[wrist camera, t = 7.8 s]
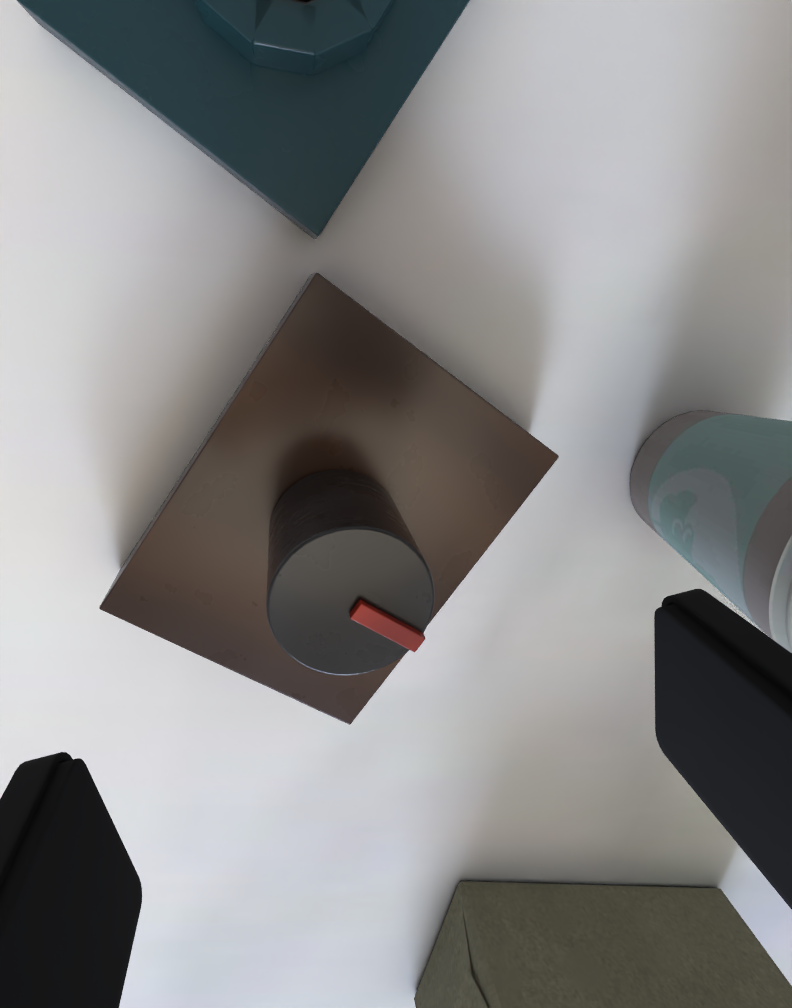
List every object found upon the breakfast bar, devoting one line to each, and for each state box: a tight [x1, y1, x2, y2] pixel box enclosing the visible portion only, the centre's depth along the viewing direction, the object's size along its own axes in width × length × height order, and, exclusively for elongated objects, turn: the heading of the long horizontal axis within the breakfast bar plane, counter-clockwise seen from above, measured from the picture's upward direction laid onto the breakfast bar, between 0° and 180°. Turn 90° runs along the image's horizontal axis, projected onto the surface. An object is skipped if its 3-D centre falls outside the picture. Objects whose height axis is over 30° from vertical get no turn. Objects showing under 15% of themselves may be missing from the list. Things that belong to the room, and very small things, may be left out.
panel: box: [100, 273, 559, 725], centre depth 23 cm, size 14×11×3 cm
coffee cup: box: [630, 411, 792, 653], centre depth 22 cm, size 9×8×12 cm
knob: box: [266, 469, 435, 676], centre depth 19 cm, size 5×5×6 cm
